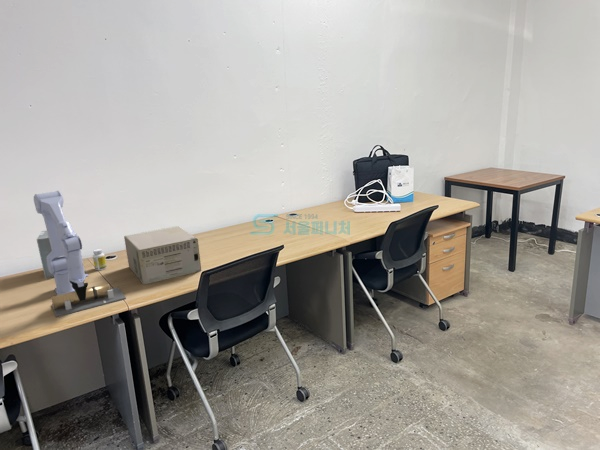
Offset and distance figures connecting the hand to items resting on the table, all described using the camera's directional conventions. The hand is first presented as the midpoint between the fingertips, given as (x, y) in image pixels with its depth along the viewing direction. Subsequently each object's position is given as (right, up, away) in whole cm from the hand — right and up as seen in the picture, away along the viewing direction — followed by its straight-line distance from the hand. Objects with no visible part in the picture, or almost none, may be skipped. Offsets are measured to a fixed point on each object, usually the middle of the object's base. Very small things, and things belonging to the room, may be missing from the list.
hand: (81, 297), depth 182 cm
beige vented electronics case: (+23, +8, +36) cm, 44 cm away
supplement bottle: (-10, +8, +41) cm, 43 cm away
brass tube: (0, -2, +1) cm, 2 cm away
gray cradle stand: (+2, -2, +2) cm, 4 cm away
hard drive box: (-31, +6, +39) cm, 50 cm away
